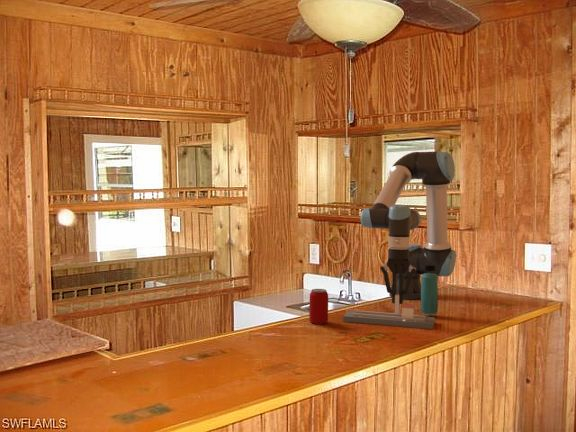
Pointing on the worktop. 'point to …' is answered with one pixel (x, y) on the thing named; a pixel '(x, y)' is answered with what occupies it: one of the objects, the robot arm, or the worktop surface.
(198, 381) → the worktop surface
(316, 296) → the beverage can
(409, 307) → the fader tab
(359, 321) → the board
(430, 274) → the beverage bottle
